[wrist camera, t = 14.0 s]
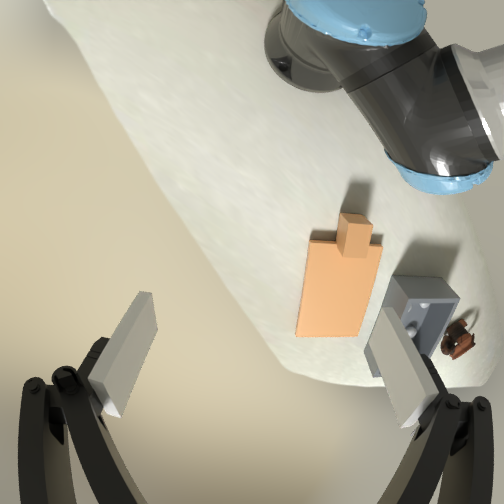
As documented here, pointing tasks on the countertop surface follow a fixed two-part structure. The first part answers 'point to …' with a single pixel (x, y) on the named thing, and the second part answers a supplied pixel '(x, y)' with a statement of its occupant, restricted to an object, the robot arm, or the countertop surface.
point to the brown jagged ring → (457, 340)
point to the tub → (418, 311)
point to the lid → (339, 280)
